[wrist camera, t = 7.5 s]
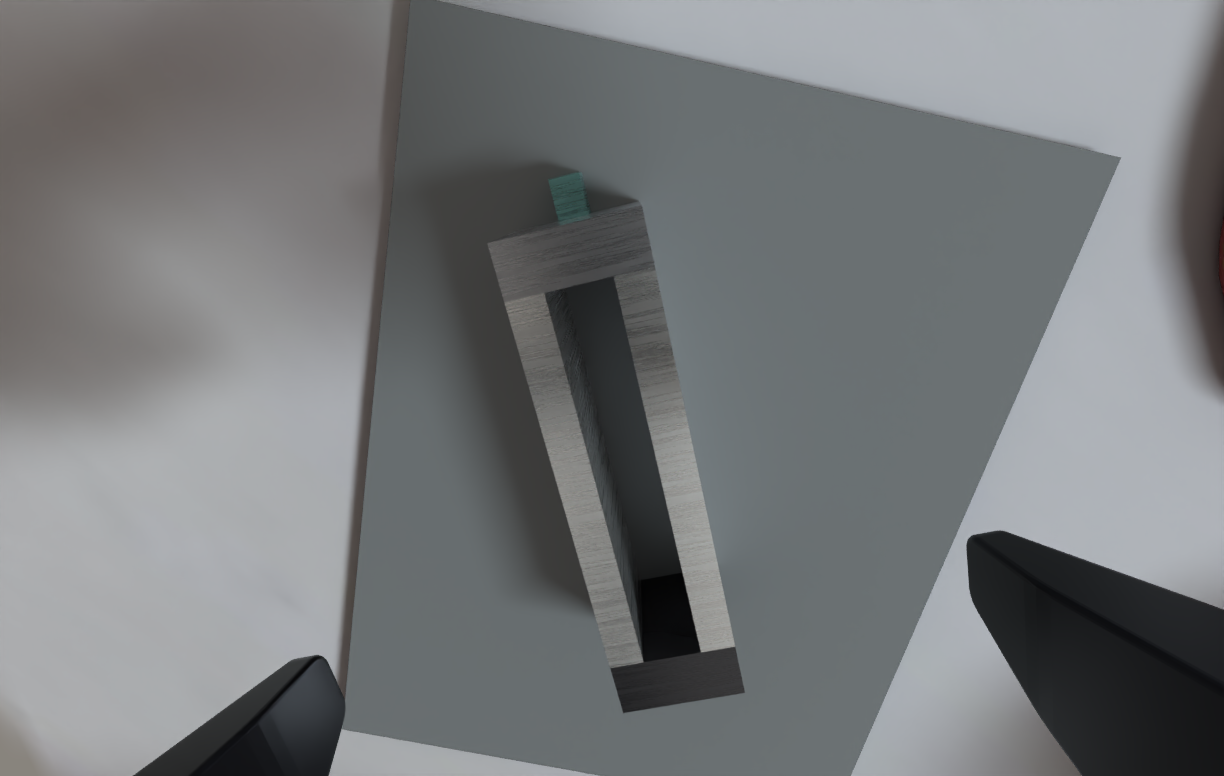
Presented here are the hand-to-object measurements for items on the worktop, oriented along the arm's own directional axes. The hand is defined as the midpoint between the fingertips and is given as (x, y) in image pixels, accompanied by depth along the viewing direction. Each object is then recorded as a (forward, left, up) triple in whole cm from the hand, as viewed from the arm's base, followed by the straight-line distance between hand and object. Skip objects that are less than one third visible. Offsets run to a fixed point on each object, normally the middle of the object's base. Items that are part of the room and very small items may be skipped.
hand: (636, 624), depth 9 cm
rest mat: (-1, -1, -6) cm, 7 cm away
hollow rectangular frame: (-4, -2, -5) cm, 7 cm away
